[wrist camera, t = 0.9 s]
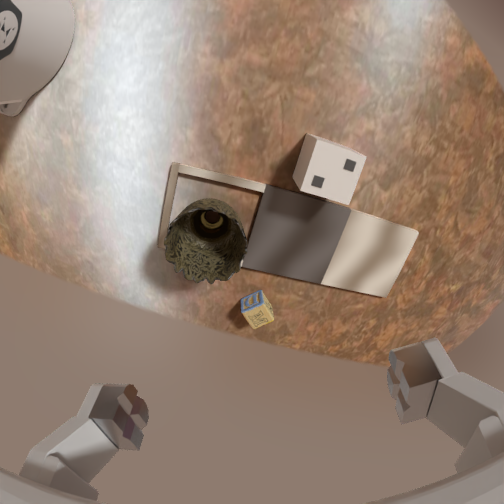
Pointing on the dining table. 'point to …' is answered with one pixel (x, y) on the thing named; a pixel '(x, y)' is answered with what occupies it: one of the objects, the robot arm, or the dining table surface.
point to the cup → (206, 242)
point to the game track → (313, 237)
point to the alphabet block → (257, 309)
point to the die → (328, 169)
